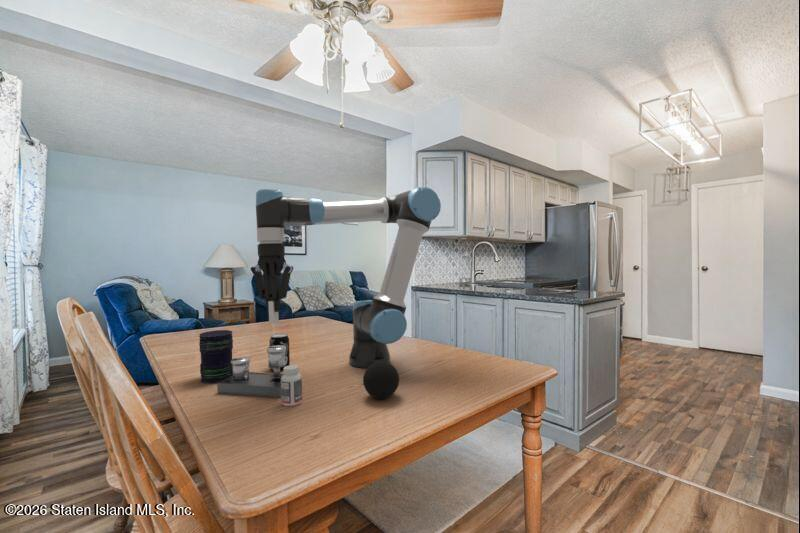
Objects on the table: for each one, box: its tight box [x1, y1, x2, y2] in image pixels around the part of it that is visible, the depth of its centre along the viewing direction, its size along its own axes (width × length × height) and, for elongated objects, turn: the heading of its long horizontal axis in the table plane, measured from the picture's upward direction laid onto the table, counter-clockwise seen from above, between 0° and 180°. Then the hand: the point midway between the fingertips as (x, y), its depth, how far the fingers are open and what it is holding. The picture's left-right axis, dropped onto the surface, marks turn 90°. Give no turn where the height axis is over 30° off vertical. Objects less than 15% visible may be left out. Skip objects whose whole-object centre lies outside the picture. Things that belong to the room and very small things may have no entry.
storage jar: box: [198, 329, 234, 384], centre depth 123 cm, size 10×10×15 cm
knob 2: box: [266, 345, 286, 377], centre depth 112 cm, size 5×5×9 cm
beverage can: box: [269, 332, 291, 372], centre depth 132 cm, size 7×7×12 cm
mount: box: [216, 371, 284, 399], centre depth 113 cm, size 20×11×3 cm, turn 78°
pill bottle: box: [281, 364, 303, 407], centre depth 102 cm, size 5×5×10 cm
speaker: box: [362, 361, 400, 400], centre depth 105 cm, size 10×10×10 cm
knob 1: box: [231, 356, 251, 380], centre depth 114 cm, size 5×5×9 cm
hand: (273, 322), depth 111 cm, fingers closed
